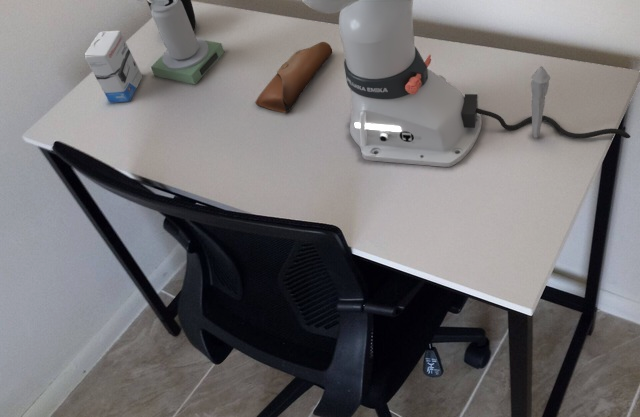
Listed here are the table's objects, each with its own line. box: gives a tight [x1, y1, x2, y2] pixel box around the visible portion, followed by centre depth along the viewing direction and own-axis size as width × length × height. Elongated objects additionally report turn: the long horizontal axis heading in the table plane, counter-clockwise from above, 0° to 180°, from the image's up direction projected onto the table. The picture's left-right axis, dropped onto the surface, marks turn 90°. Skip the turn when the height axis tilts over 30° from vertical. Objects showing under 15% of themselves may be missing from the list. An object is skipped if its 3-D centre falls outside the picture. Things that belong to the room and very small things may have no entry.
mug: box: [146, 0, 197, 32], centre depth 143 cm, size 12×9×10 cm
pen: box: [530, 65, 551, 139], centre depth 99 cm, size 2×3×14 cm
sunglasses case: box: [254, 41, 334, 115], centre depth 125 cm, size 18×7×7 cm, turn 152°
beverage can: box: [149, 0, 199, 60], centre depth 130 cm, size 6×6×12 cm
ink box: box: [84, 30, 143, 104], centre depth 131 cm, size 8×5×12 cm, turn 171°
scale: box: [150, 37, 225, 85], centre depth 136 cm, size 11×11×3 cm
